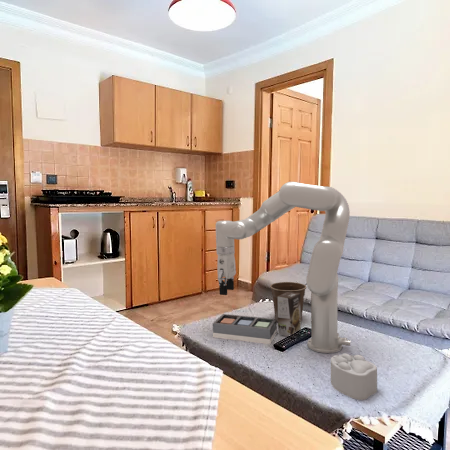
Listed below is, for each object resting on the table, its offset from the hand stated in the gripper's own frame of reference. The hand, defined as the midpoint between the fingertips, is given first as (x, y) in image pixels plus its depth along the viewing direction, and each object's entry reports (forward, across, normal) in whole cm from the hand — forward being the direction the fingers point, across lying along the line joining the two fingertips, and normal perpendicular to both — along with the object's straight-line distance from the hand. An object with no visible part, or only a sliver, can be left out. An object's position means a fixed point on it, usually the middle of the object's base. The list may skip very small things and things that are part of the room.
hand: (226, 291), depth 147 cm
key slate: (+15, 0, -7) cm, 17 cm away
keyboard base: (+18, 0, -8) cm, 19 cm away
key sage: (+15, 0, -15) cm, 21 cm away
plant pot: (+18, +22, -22) cm, 36 cm away
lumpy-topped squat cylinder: (+18, -28, -50) cm, 60 cm away
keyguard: (+16, 0, -8) cm, 18 cm away
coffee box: (+18, +8, -24) cm, 31 cm away
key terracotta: (+15, 0, 0) cm, 15 cm away
